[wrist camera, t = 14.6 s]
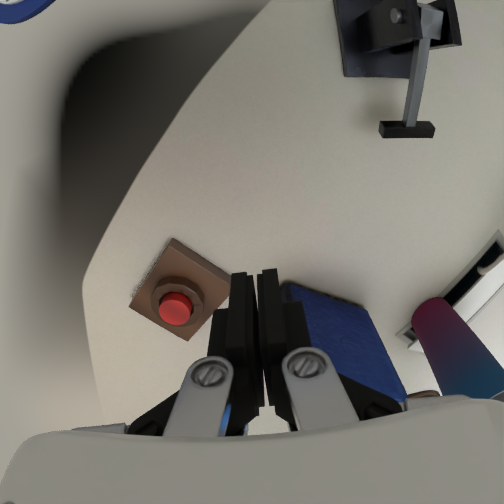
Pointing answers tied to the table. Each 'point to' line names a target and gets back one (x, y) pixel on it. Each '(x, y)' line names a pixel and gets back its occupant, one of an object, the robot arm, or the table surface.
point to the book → (347, 339)
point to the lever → (416, 80)
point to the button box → (182, 288)
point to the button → (175, 308)
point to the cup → (457, 353)
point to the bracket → (387, 35)
